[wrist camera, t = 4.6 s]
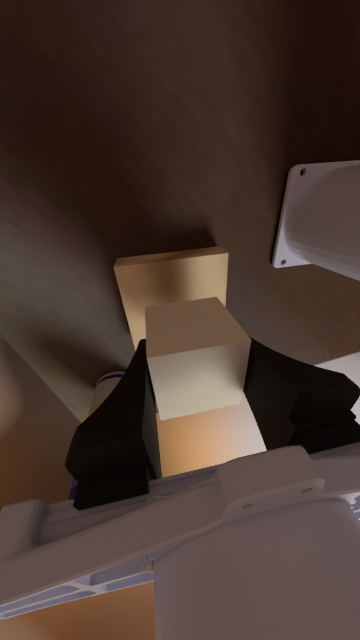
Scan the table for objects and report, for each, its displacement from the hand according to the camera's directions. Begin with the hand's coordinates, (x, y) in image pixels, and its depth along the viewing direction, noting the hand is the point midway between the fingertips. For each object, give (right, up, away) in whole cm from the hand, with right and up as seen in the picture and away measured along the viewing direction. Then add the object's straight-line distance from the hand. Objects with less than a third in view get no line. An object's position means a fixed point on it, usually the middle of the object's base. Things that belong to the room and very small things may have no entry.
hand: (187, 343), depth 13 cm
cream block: (0, +1, +1) cm, 1 cm away
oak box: (-1, +4, +7) cm, 8 cm away
